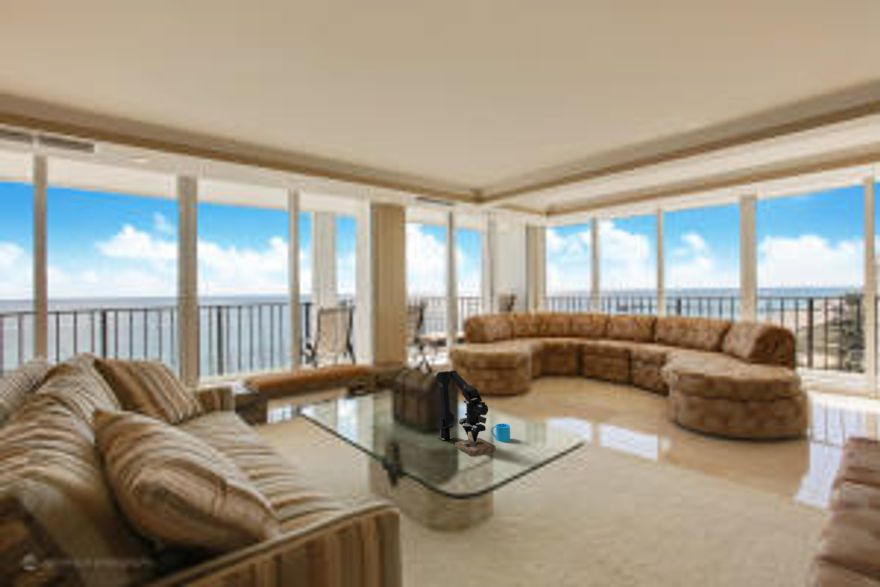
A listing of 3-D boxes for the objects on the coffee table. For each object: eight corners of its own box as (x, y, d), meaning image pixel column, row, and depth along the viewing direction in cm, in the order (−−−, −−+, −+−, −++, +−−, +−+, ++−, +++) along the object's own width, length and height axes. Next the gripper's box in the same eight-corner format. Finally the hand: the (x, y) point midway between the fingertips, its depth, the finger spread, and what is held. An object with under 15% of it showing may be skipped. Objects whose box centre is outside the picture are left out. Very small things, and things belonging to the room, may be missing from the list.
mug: (512, 438, 243) (512, 424, 243) (506, 442, 236) (505, 428, 236) (494, 435, 250) (494, 421, 250) (487, 439, 243) (487, 425, 243)
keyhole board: (470, 456, 217) (470, 451, 217) (455, 447, 232) (455, 442, 232) (495, 450, 225) (495, 445, 225) (479, 442, 239) (479, 437, 239)
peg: (466, 448, 228) (466, 431, 229) (474, 446, 231) (473, 430, 231) (471, 450, 224) (470, 434, 224) (479, 449, 226) (478, 432, 227)
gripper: (493, 413, 223) (494, 442, 223) (475, 406, 240) (476, 433, 239) (475, 416, 218) (476, 446, 218) (458, 408, 235) (459, 436, 234)
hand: (472, 440), depth 227 cm, fingers closed on peg, 5 cm apart
